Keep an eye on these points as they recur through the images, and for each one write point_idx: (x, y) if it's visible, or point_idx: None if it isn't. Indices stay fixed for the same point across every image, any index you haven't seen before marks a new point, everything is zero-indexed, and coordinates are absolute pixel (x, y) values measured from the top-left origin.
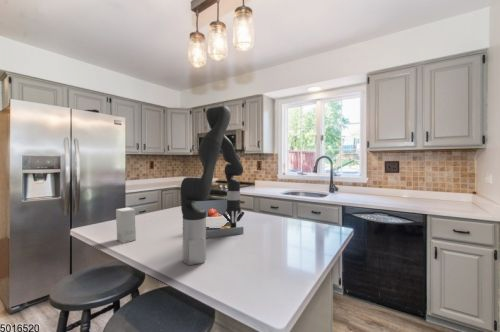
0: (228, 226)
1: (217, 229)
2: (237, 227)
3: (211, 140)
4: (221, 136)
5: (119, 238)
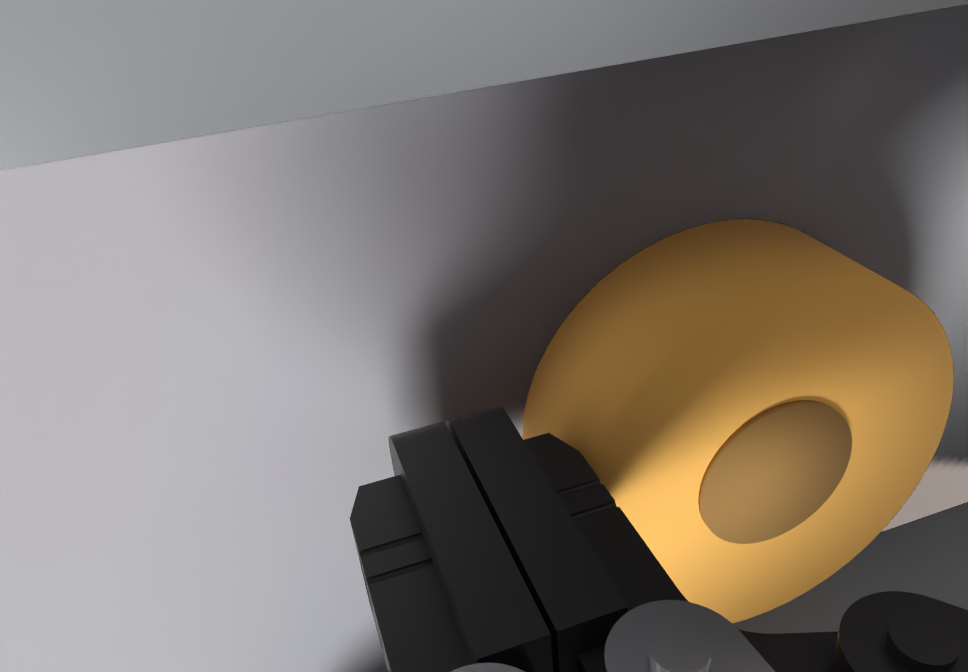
0: None
1: None
2: (433, 19)
3: None
4: None
5: None
